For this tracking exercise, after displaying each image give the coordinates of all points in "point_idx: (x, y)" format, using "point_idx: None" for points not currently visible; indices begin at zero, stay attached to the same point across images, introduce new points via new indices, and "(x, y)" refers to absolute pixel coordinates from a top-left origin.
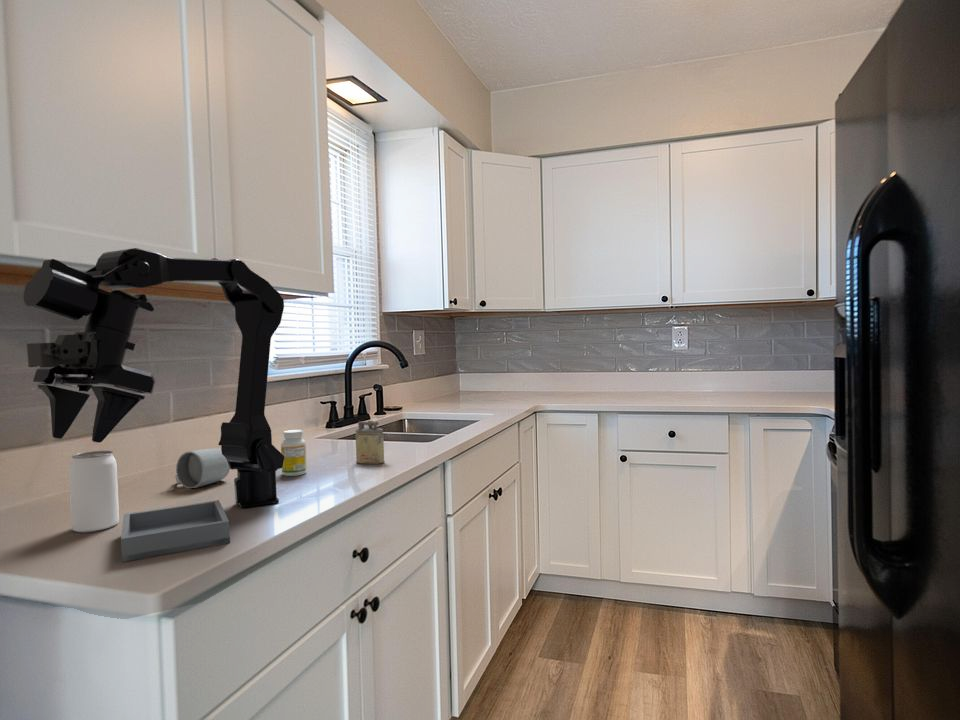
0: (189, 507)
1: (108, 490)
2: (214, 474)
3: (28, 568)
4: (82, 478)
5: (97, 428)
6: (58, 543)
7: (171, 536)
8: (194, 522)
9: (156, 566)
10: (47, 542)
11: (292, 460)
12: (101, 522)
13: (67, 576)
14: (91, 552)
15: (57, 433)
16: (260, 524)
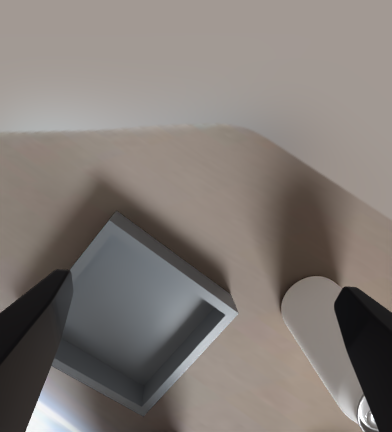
0: (166, 377)
1: (307, 346)
2: None
3: (236, 148)
4: None
5: (10, 306)
6: (297, 234)
7: None
8: (149, 355)
9: (47, 216)
10: (318, 232)
11: None
12: (287, 300)
13: (143, 144)
14: (206, 224)
15: (349, 305)
16: (58, 391)
